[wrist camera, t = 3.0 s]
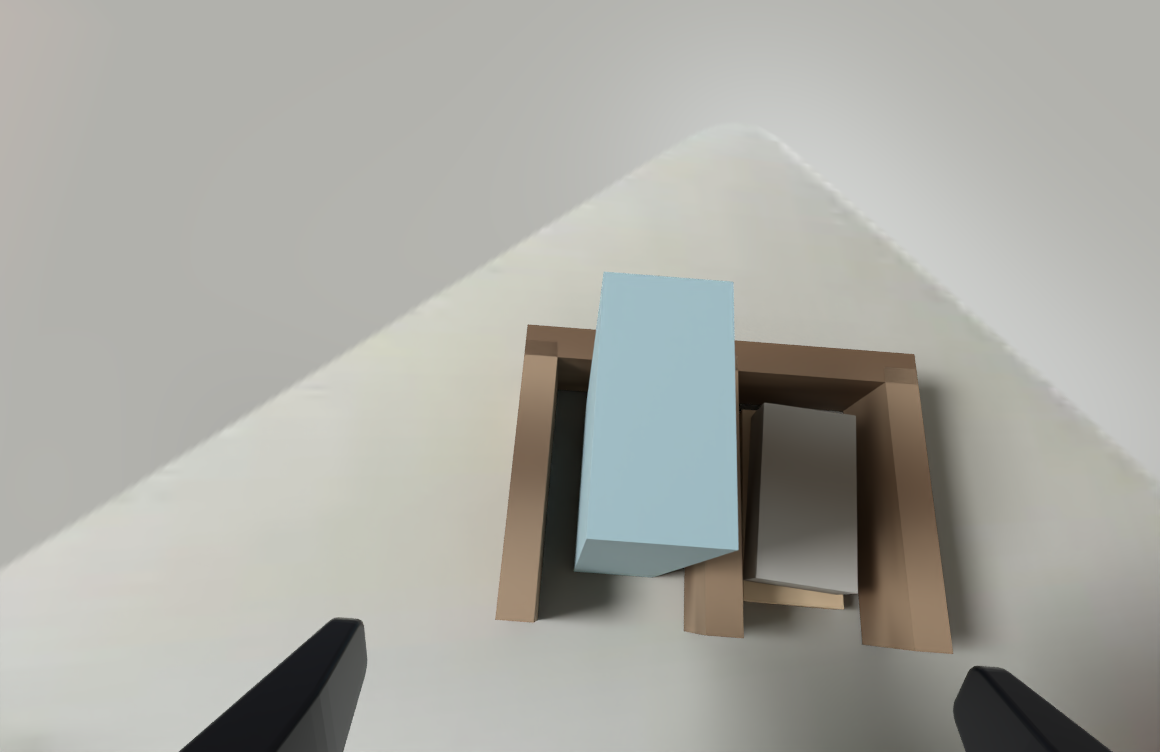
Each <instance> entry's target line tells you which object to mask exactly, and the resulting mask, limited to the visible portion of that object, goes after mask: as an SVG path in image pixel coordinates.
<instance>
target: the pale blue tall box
mask: <svg viewBox="0 0 1160 752" xmlns="http://www.w3.org/2000/svg"><path fill="white" fill-rule="evenodd" d="M737 550H739V548H738V497H737V445H736V393H735V342H734V290H733V282H729V281H716V280H703V279H690V278H677V277H664V276H651V275H638V274H626V273H613V272H604V274H603V282H602V289H601V297H600V305H599V312H598V320H597V327H596V335H595V342H594V350H593V358H592V365H591V373H590V380H589V388H588V395H587V403H586V411H585V418H584V431H583V446H582V460H581V474H580V488H579V502H578V517H577V531H576V545H575V559H574V572H587V573H600V574H614V575H627V576H640V577H656V576H659V575H662V574H665V573H668V572H671V571H674V570H678V569H681V568H684V567H687V566H690V565H693V564H697V563H700V562H703V561H706V560H709V559H712V558H715V557H719V556H722V555H725V554H728V553H731V552H734V551H737Z"/></svg>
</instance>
